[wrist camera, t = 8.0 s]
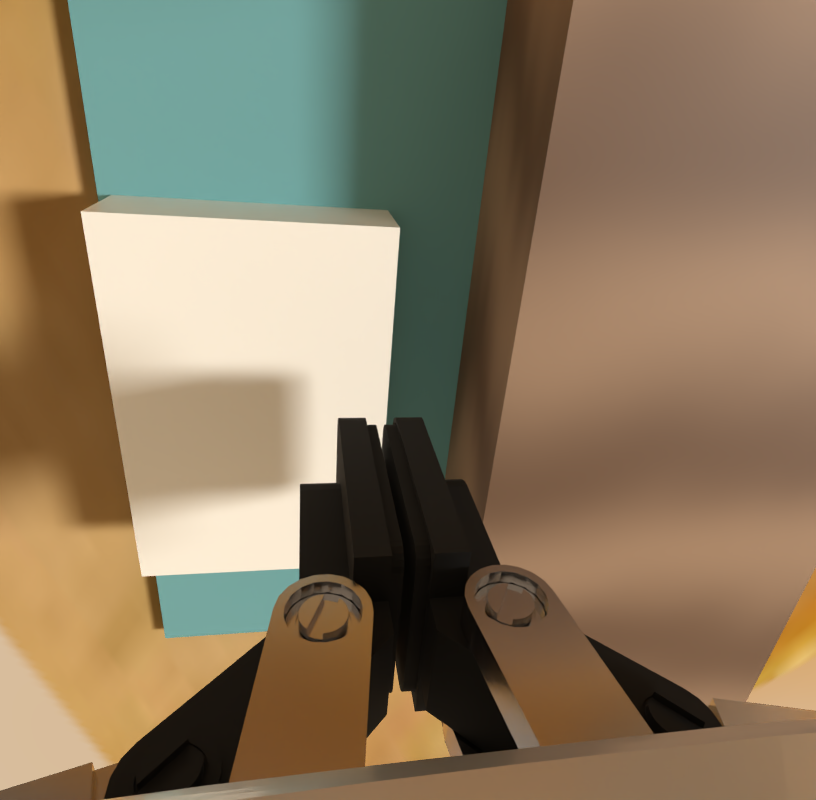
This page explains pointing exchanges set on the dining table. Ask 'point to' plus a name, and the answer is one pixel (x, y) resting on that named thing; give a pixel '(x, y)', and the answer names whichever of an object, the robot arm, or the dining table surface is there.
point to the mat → (307, 167)
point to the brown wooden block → (650, 325)
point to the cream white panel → (237, 364)
